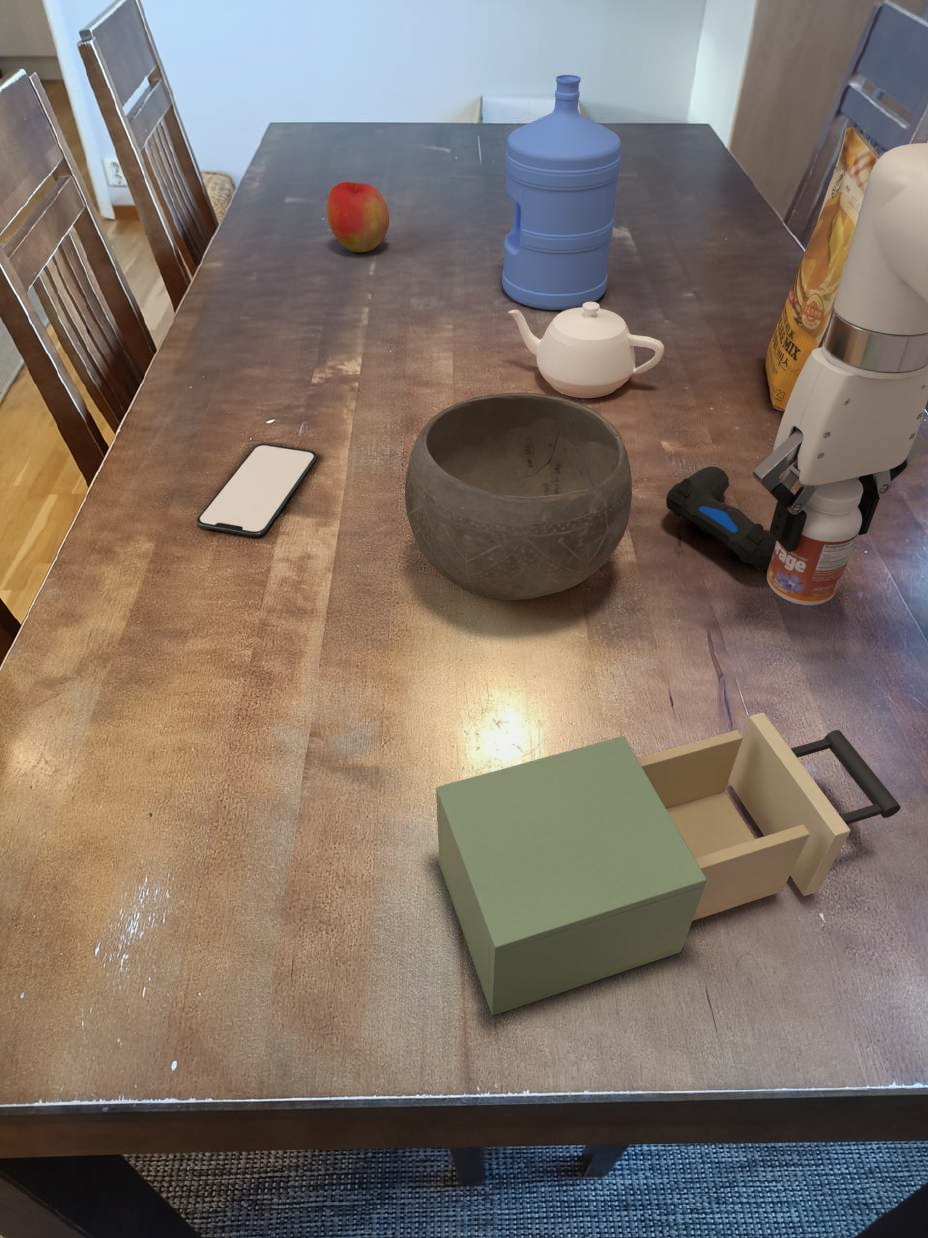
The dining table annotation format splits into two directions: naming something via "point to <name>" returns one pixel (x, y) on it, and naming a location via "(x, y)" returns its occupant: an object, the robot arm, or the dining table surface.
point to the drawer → (759, 810)
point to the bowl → (518, 494)
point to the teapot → (587, 351)
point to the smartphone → (257, 490)
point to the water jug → (560, 205)
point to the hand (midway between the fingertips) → (817, 532)
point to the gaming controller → (721, 516)
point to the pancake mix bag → (819, 269)
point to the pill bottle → (819, 545)
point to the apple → (357, 215)
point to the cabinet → (564, 872)
